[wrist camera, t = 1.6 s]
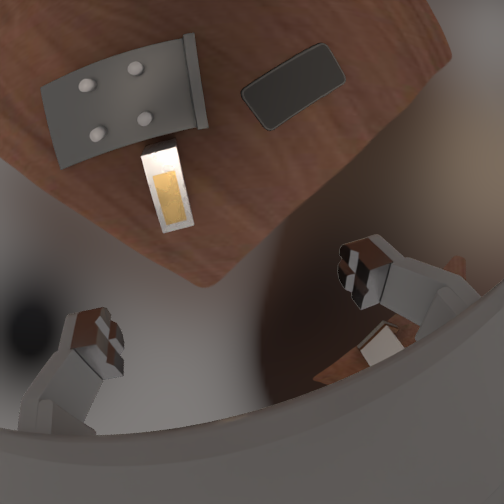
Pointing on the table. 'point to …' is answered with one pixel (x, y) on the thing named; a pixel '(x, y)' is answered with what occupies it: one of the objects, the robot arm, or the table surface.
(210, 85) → the table surface
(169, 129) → the tray
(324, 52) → the smartphone
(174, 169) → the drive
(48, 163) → the table surface
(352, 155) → the table surface
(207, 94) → the table surface
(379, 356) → the white tower box
